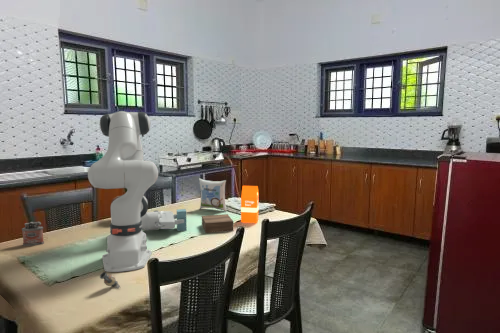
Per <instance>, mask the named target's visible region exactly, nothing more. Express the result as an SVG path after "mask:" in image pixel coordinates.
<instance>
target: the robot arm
mask: <svg viewBox="0 0 500 333" xmlns="http://www.w3.org/2000/svg"><path fill="white" fill-rule="evenodd" d="M98 126H99V130H100V131H101V133H102V135H104V136H105V137H108V146H107V150H106V152H105V153H104V155H103V156H102V157H101V158H100V159H98V160H97V161H96V162H94V163H92V164H91V166H90V167H89V169H88V170H87V171H88V172H87V178H88V181H89V183H90V184H91V186H92V187H94V188H96V189H104V190H109V189H111V190H112V189H126V190H127V191H126V192H125V193H124V194H121V195H119V196H120V197H119V198H117V199H115V200H114V201H113V202H112V201H111V202H112V203H111V204H110V224H109V230H110V232H109V233H110V234H109V235H108V236H107V237H106V238H107V239H106V240H107V241H106V242H107V248H106V249H105V252H106V253H104V254H102V257H101V259H102V263H103V264H102V265H103V270H104V271H103V272H106V273H117V272H118V273H120V272H127V271H128V272H129V271H136V270H139V269H143V268H144V267H146V264H147V262H148V261H149V259H150V257H151V256H152V250H151V249H148V245H147V234H146V233H145V232H144V230H147V231H154V230H156V231H157V230H159V229H161V230H172V229H175V228H176V226H177V224H180V223H184V219H180V220H177V213H176V214H174V212H173V211H171V210H160V211H159V210H153V211H148V210H149V205H148V199H147V198H146V196H145V194H146V192H147V191H148V190H149V188H151V187H152V186H153V185H154V184H155V183H156V182H157V181H158V178H159V169H158V166H157V165H156V164H155V162H153V161H152V160H151V161H150V160H146V159H145V160H144V150H143V145H142V144H143V143H142V140H141V137H142V138H143V137H145V135H147V134H148V133H149V132H150V130H151V119H150V116H148V114H147V112H144V111H138V112H137V111H136V112H135V111H130V112H129V111H123V110H121V111H116V112H114V113H106V114H103V115H102V116H101V117H100V119H99V125H98ZM140 135H141V137H140Z"/></svg>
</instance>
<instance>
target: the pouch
mask: <svg viewBox="0 0 500 333" xmlns="http://www.w3.org/2000/svg"><path fill="white" fill-rule="evenodd" d="M198 181H199V188H200V206H199V209H200V210H201V209H205V208H207V209H208V208H209V209H211V208H212V209H216V210H221V211H224V212H226V211H228V210H227V207H226V195H225V194H226V184H227V183H226V182H227V180H226V179H225V180H221V181H218V180H217V181H213V180H208V179H207V180H206V179H202V178H200V177H199V178H198Z"/></svg>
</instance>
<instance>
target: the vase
mask: <svg viewBox="0 0 500 333" xmlns="http://www.w3.org/2000/svg"><path fill="white" fill-rule="evenodd" d="M107 273H108V272H107V271H102V272H101V274H99V279H101V280H103V284H104V285H106V286H108V287H112V288H114V289H120V288H121V286H120V285H119V282H118V281H117V280H116V277H115V276H114V274H108V275H107Z"/></svg>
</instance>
